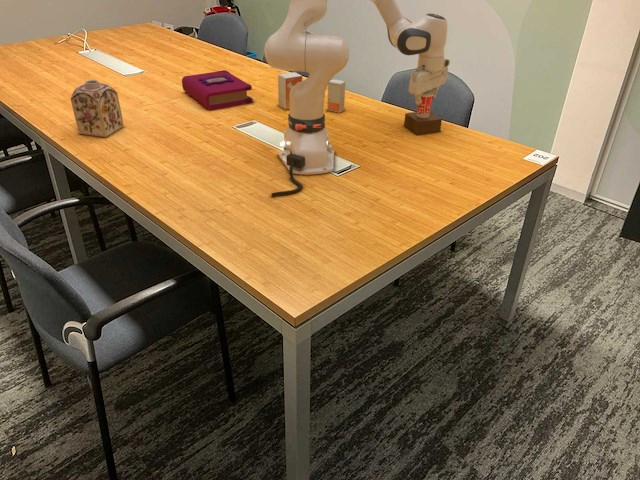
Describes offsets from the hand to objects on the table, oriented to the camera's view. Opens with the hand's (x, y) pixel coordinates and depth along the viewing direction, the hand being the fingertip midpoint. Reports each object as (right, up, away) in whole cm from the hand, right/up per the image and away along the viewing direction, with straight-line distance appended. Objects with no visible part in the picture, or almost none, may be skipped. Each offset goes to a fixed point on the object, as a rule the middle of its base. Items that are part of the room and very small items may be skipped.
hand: (425, 101), depth 194 cm
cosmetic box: (-33, +2, +22) cm, 39 cm away
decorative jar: (-120, -11, -1) cm, 120 cm away
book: (-83, +10, +33) cm, 90 cm away
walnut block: (0, -9, +6) cm, 11 cm away
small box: (-51, +4, +25) cm, 57 cm away
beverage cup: (0, -5, +3) cm, 6 cm away
